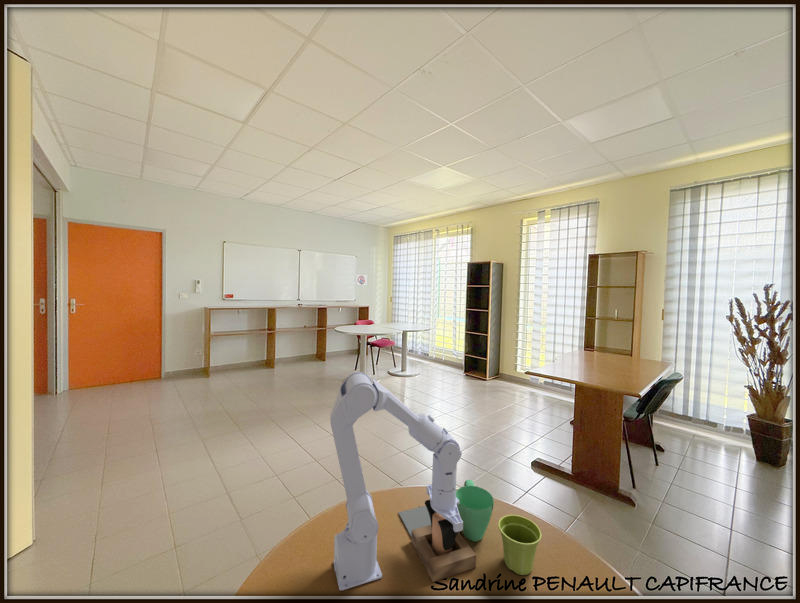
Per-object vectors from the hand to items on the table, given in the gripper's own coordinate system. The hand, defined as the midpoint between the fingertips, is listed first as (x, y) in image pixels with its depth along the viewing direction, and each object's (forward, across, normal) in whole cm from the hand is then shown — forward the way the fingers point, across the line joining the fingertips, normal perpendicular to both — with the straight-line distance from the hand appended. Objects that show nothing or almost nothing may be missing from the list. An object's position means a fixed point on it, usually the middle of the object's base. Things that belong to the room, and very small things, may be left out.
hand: (442, 539), depth 78 cm
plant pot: (+4, -8, -16) cm, 18 cm away
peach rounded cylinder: (+4, 0, 0) cm, 4 cm away
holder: (+4, 0, 0) cm, 4 cm away
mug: (+4, +5, -12) cm, 13 cm away
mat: (+4, +12, 0) cm, 12 cm away
